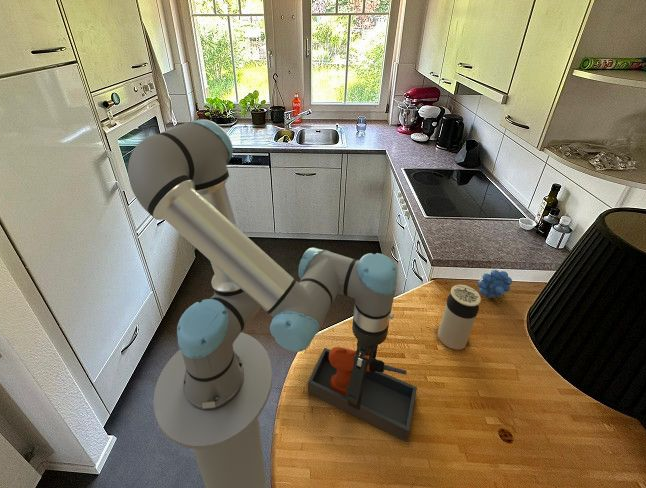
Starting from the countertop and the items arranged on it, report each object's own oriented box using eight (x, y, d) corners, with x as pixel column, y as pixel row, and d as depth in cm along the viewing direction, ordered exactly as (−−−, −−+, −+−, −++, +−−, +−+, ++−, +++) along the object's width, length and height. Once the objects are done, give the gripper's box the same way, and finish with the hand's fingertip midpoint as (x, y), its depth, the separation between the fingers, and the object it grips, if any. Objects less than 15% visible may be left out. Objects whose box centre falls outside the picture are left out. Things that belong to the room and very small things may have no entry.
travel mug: (464, 355, 91) (480, 310, 83) (434, 342, 95) (447, 298, 86) (468, 334, 97) (483, 290, 89) (440, 322, 101) (452, 279, 92)
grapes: (480, 308, 106) (490, 281, 100) (469, 292, 112) (478, 266, 106) (514, 305, 107) (526, 278, 101) (501, 290, 112) (511, 264, 107)
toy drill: (405, 415, 76) (406, 374, 69) (328, 393, 82) (322, 354, 76) (406, 395, 80) (407, 354, 73) (333, 376, 86) (328, 337, 80)
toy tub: (307, 392, 82) (307, 382, 80) (324, 357, 91) (324, 347, 88) (406, 442, 73) (409, 431, 70) (414, 397, 81) (417, 387, 79)
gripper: (372, 379, 57) (362, 440, 67) (400, 285, 77) (389, 344, 87) (333, 361, 60) (329, 423, 70) (369, 276, 80) (362, 333, 90)
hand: (362, 379), depth 78 cm, fingers open, 13 cm apart
